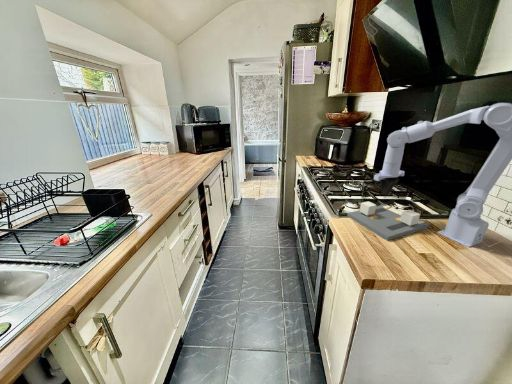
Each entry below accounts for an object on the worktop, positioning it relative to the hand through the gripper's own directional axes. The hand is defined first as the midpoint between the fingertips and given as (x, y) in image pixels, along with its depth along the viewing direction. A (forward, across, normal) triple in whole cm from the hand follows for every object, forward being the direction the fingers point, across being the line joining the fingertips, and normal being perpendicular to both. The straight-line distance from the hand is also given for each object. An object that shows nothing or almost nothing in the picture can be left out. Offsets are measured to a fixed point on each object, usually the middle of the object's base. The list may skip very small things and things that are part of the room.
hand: (385, 194), depth 88 cm
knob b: (+7, +7, -1) cm, 10 cm away
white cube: (+7, -1, +11) cm, 13 cm away
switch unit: (+9, +3, +5) cm, 11 cm away
